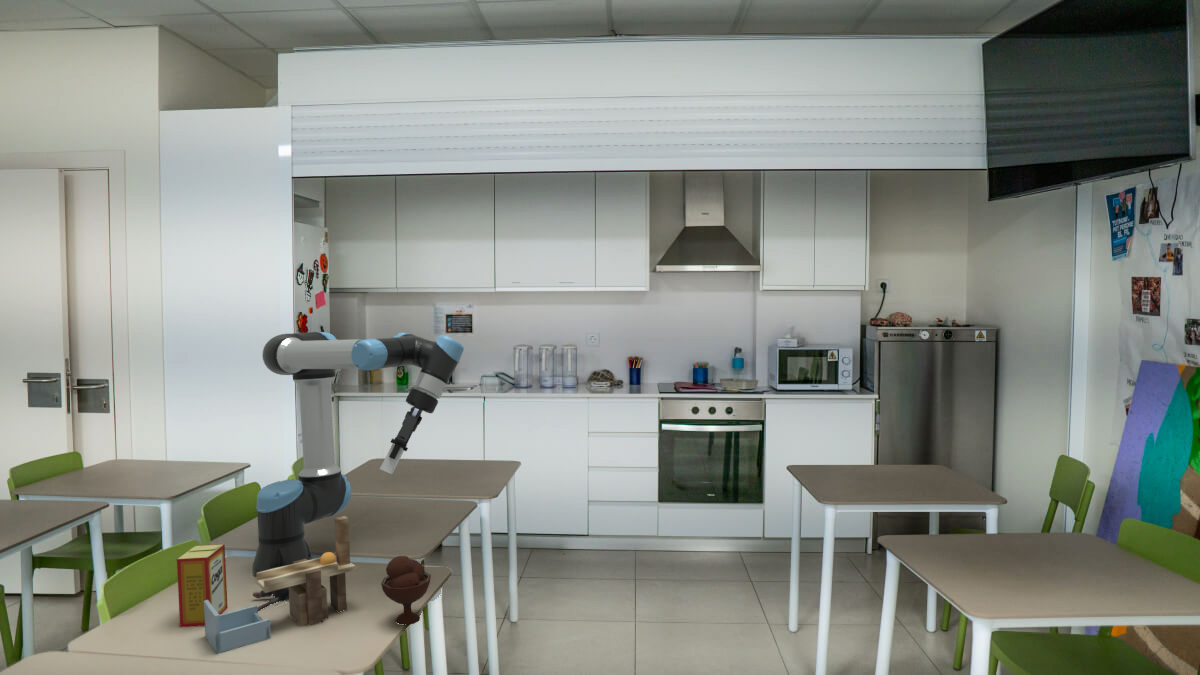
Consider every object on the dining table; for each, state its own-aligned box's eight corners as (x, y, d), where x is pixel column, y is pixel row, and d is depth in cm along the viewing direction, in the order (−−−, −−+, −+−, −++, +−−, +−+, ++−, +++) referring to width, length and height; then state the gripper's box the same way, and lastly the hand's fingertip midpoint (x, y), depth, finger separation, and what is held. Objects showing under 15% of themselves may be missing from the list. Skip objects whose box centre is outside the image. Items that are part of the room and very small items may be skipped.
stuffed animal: (308, 581, 188) (301, 568, 178) (305, 620, 183) (298, 610, 173) (259, 585, 185) (249, 573, 175) (255, 625, 180) (244, 615, 170)
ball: (317, 568, 170) (316, 553, 170) (329, 563, 173) (329, 549, 173) (327, 570, 168) (326, 555, 168) (339, 565, 171) (339, 551, 171)
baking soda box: (210, 625, 164) (206, 556, 164) (180, 627, 164) (176, 557, 163) (227, 607, 174) (224, 542, 173) (199, 609, 173) (196, 543, 172)
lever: (344, 562, 176) (342, 513, 176) (355, 569, 171) (353, 519, 170) (256, 583, 164) (254, 531, 163) (265, 592, 158) (263, 538, 158)
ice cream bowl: (420, 632, 159) (417, 565, 158) (373, 628, 161) (371, 562, 160) (440, 611, 169) (438, 548, 168) (396, 608, 171) (394, 546, 171)
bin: (257, 622, 166) (255, 587, 165) (270, 637, 157) (269, 601, 157) (205, 636, 159) (203, 600, 158) (216, 653, 151) (215, 616, 150)
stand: (335, 600, 177) (333, 552, 176) (350, 613, 169) (349, 563, 168) (288, 613, 170) (286, 563, 169) (302, 628, 162) (300, 575, 161)
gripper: (441, 394, 172) (399, 477, 166) (437, 405, 195) (401, 478, 190) (411, 381, 171) (368, 464, 165) (412, 393, 194) (374, 466, 188)
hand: (386, 471), depth 177 cm, fingers open, 13 cm apart
